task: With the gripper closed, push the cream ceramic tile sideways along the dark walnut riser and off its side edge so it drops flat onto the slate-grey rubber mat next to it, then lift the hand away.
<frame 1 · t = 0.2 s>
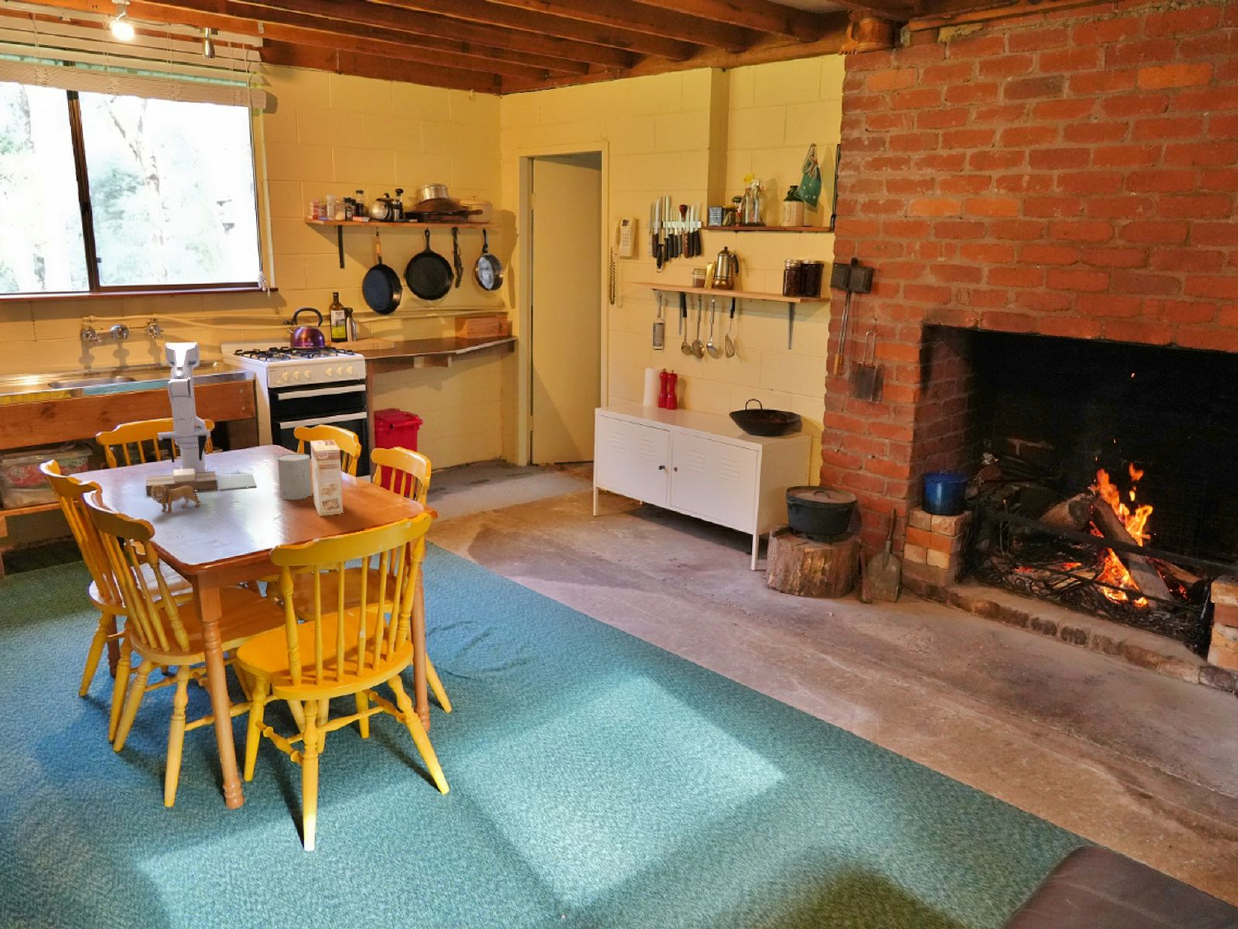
hand: (186, 460, 289), 10 cm above the table, tool pointing down, fingers open, 7 cm apart
coffeecake box: (328, 509, 278), on the table
grey cylinder: (296, 496, 291), on the table
tile: (184, 478, 296), point 3 cm above the table, touching riser
riser: (182, 487, 296), on the table
mat: (236, 482, 303), on the table
lion figurine: (176, 511, 273), on the table
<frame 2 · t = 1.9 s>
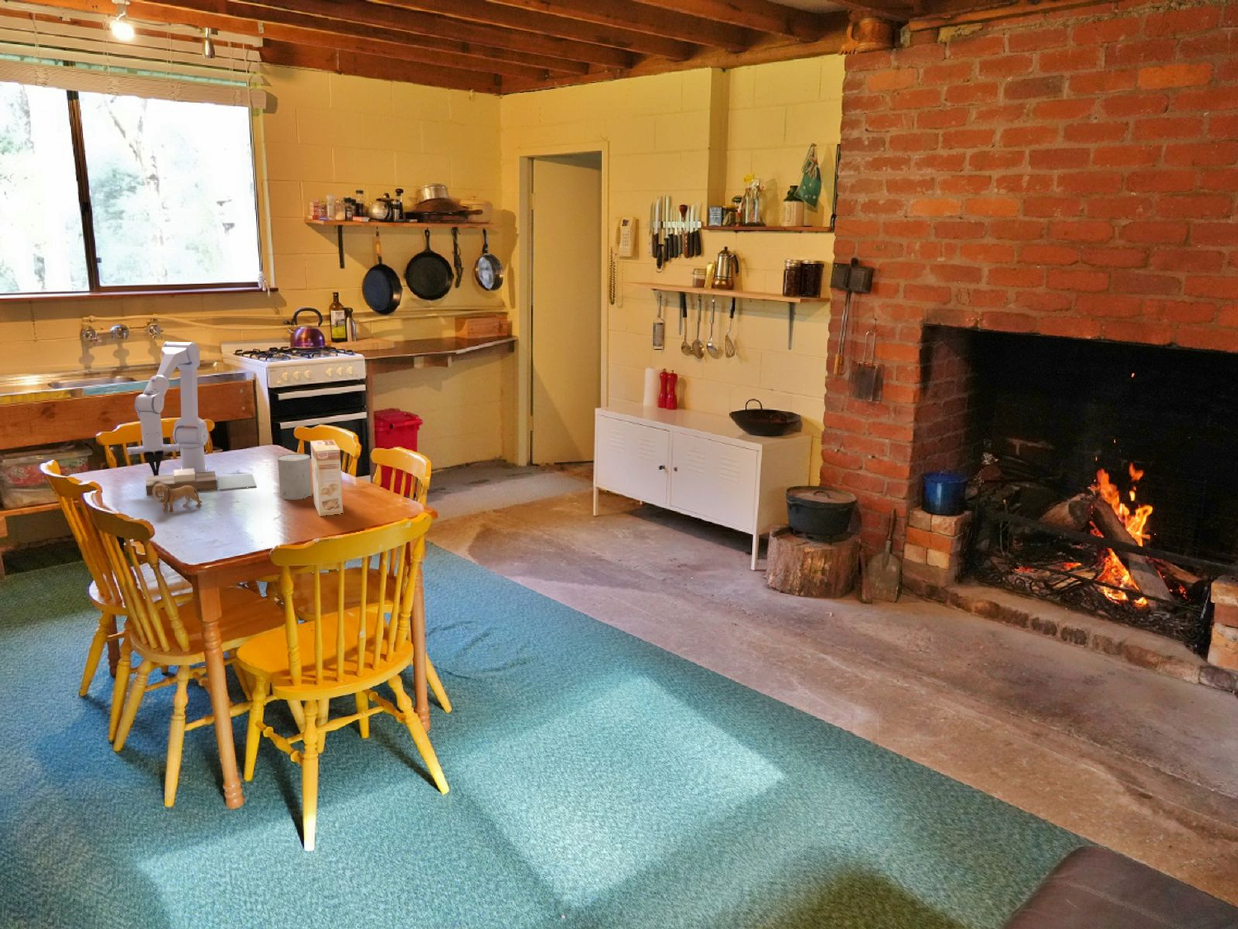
hand: (156, 475, 292), 5 cm above the table, tool pointing down, fingers closed
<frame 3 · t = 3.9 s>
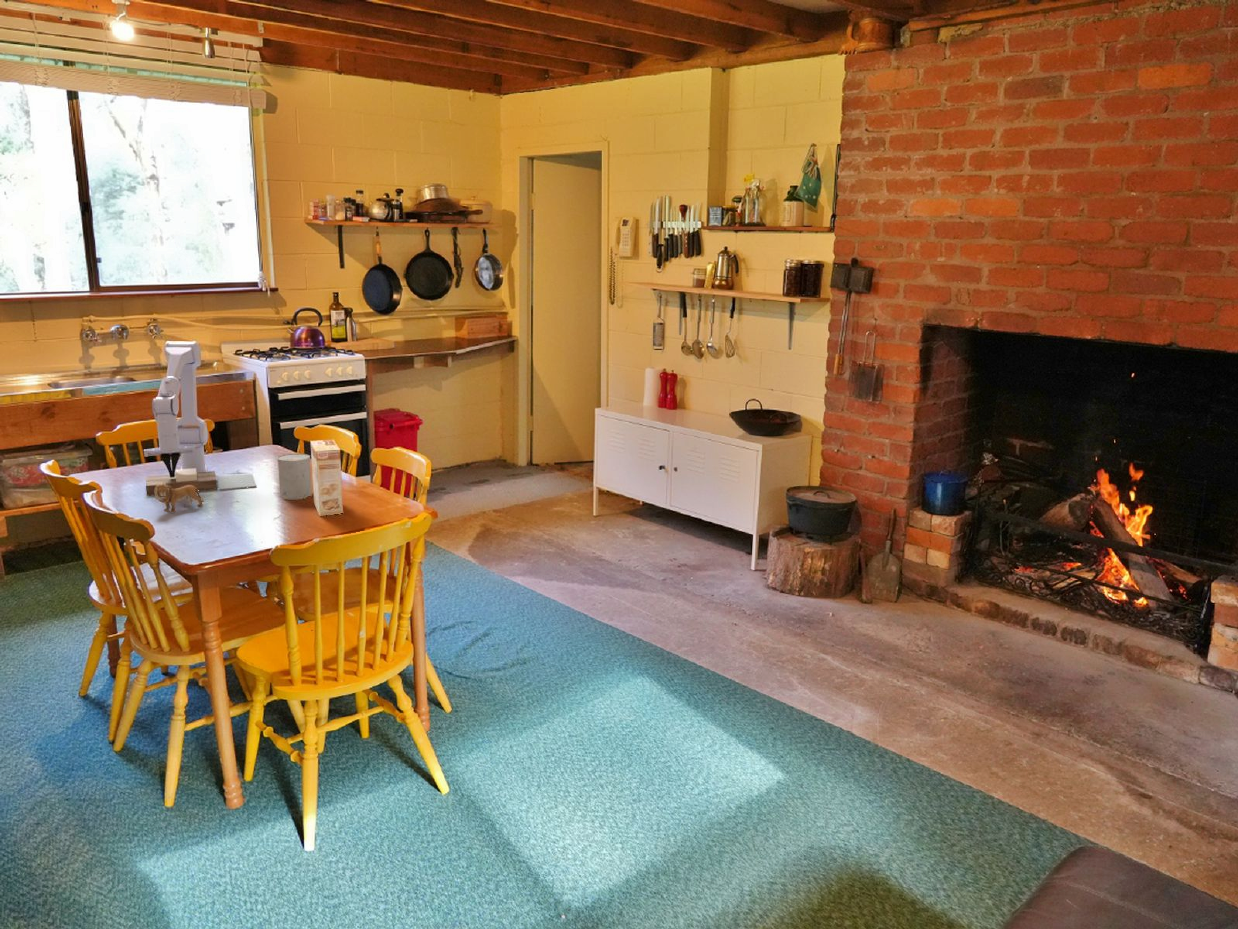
hand: (172, 476, 294), 4 cm above the table, tool pointing down, fingers closed
tile: (186, 477, 296), point 3 cm above the table, touching gripper, riser
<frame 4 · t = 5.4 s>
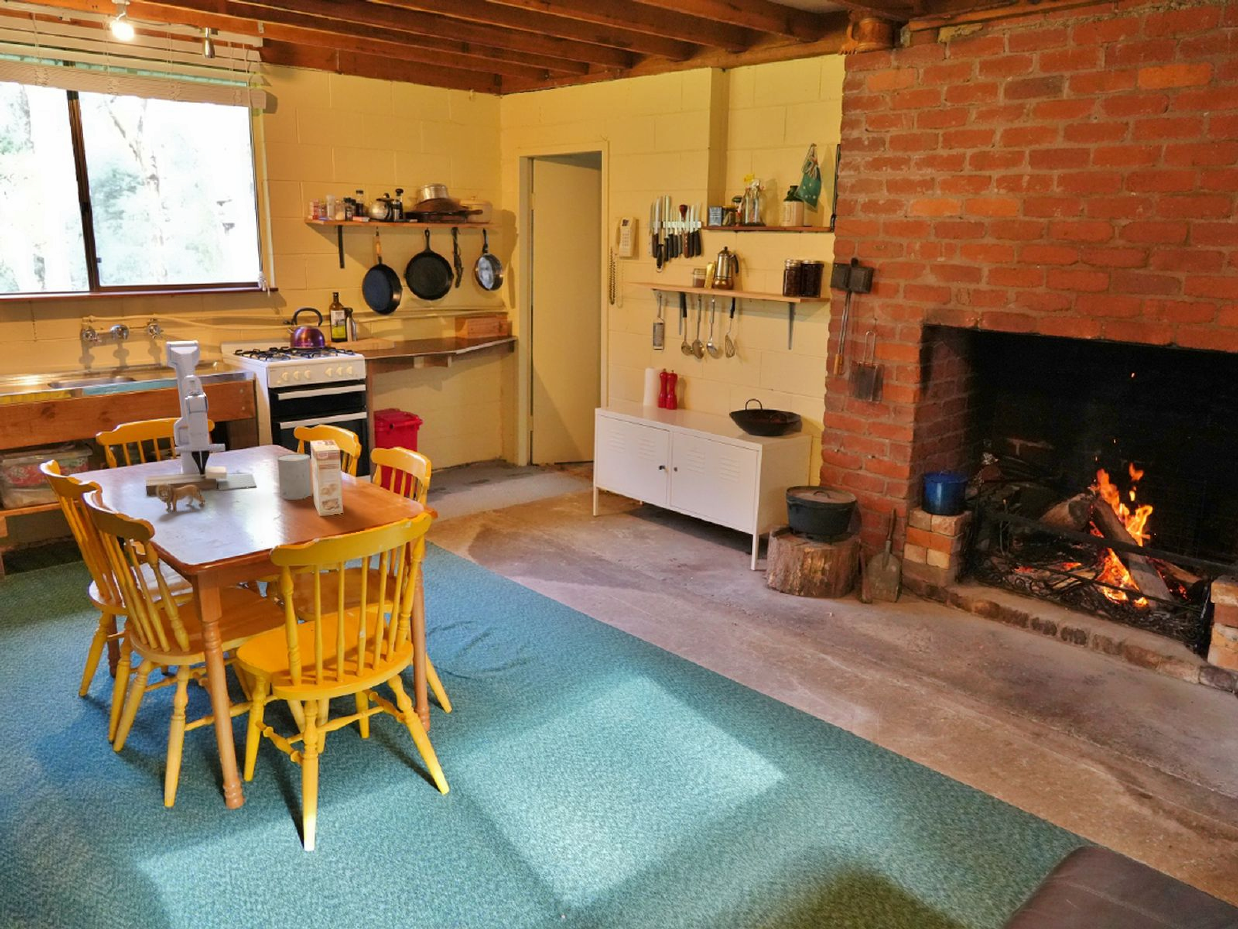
hand: (202, 474, 298), 4 cm above the table, tool pointing down, fingers closed
tile: (215, 475, 300), point 3 cm above the table, tilted 5°, touching gripper, riser
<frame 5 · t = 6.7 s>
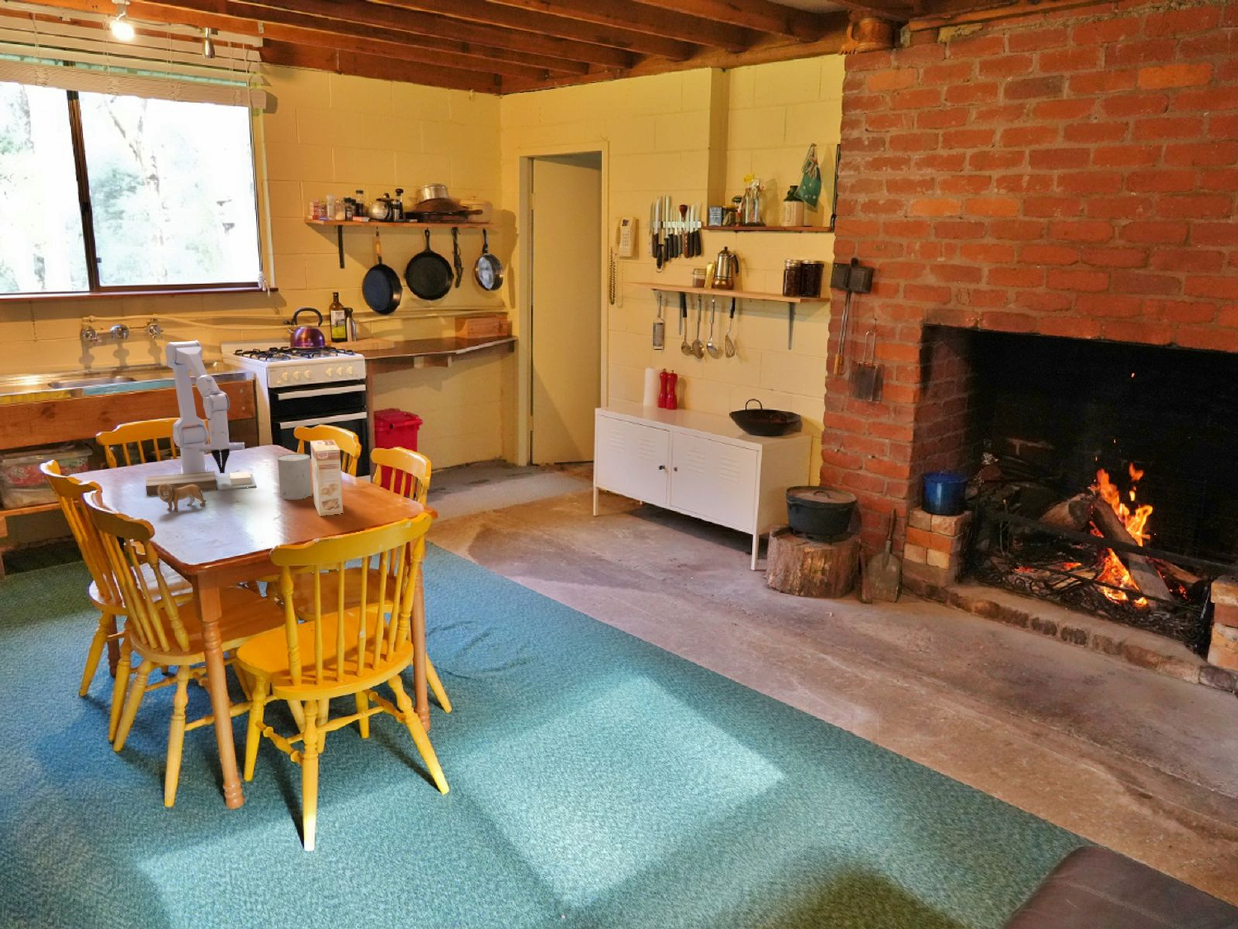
hand: (222, 472, 300), 4 cm above the table, tool pointing down, fingers closed
tile: (239, 475, 303), point 2 cm above the table, tilted 180°, touching mat
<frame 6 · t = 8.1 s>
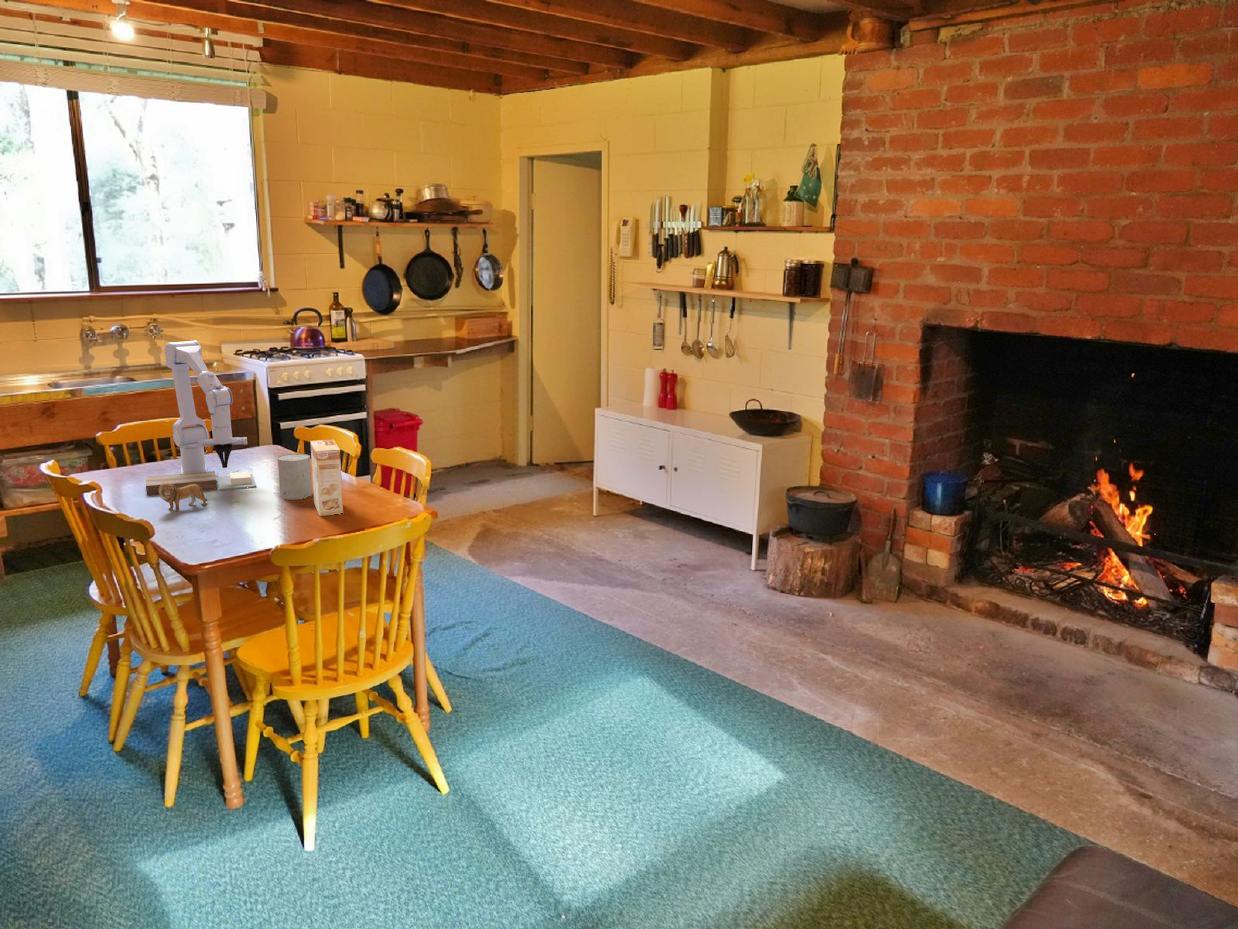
hand: (224, 467, 301), 5 cm above the table, tool pointing down, fingers closed
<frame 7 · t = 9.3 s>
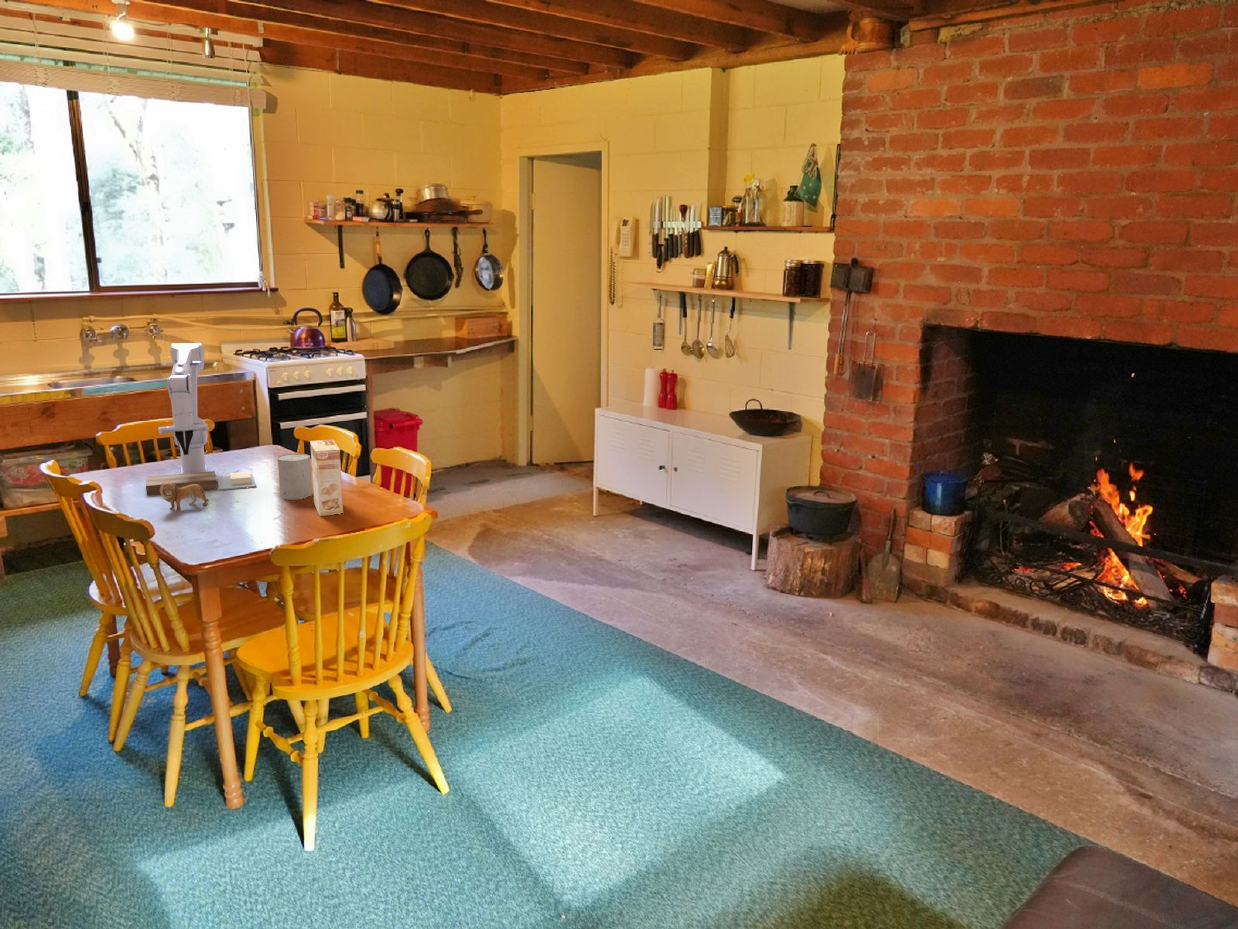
hand: (186, 454, 300), 9 cm above the table, tool pointing down, fingers closed
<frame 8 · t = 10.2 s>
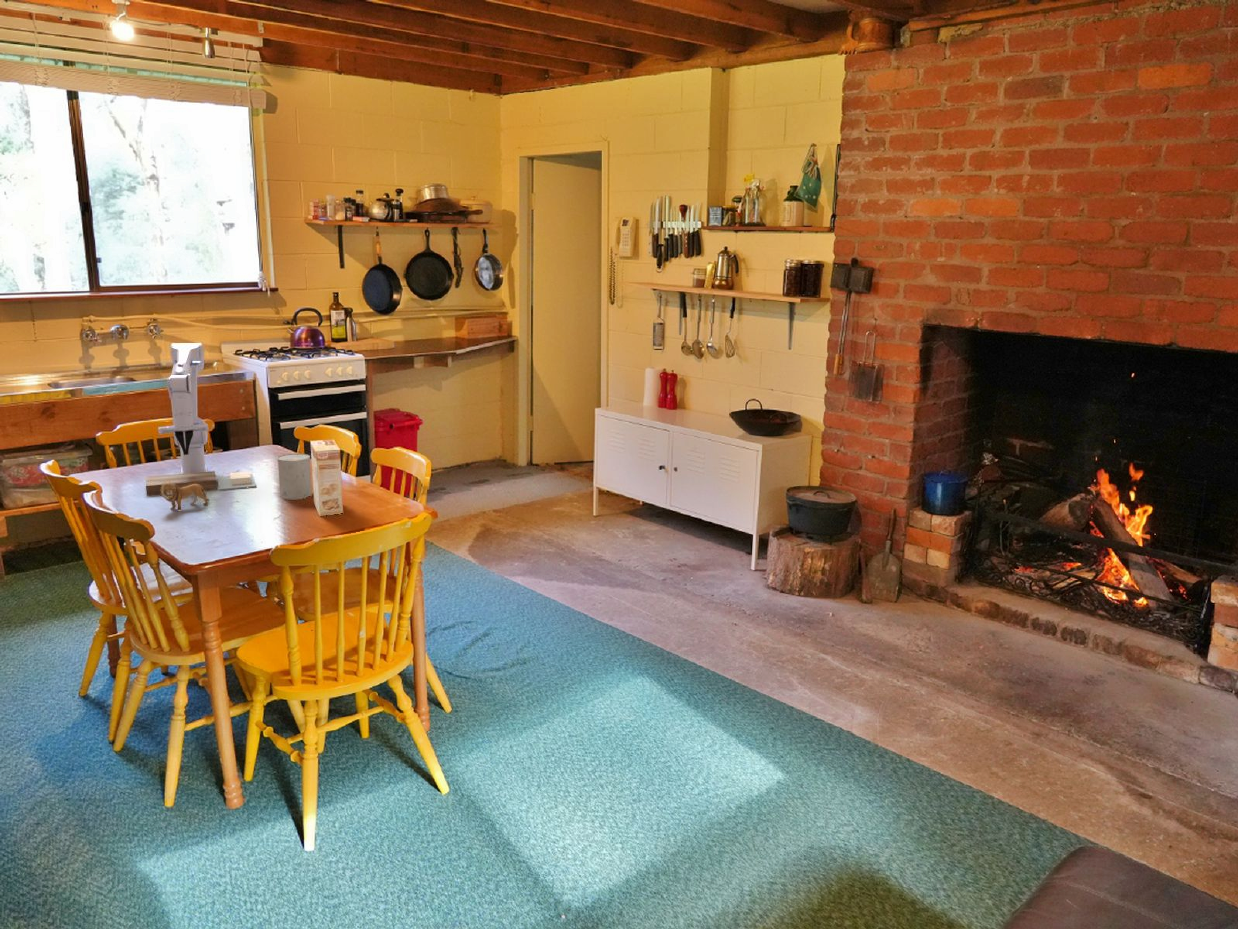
hand: (186, 454, 300), 9 cm above the table, tool pointing down, fingers closed
at the end: tile inside the target area (1.1 cm from its centre), point 2.5 cm above the table; tile touching mat; the gripper is holding nothing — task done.
